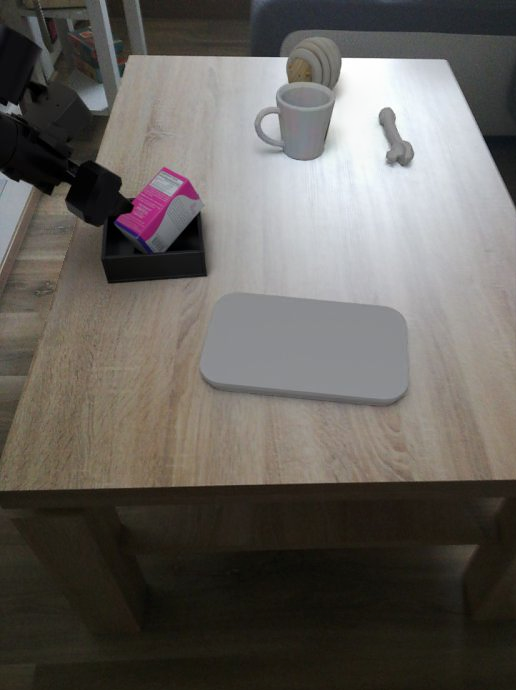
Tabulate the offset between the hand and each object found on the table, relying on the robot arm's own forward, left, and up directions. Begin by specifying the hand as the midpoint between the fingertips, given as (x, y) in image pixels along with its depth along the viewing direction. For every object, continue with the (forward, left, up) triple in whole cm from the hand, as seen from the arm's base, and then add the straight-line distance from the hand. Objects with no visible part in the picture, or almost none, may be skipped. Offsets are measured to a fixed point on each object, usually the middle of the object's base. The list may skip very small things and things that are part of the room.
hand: (109, 194), depth 73 cm
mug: (+29, +30, -12) cm, 44 cm away
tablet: (+23, -20, -12) cm, 33 cm away
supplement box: (+1, +2, -9) cm, 9 cm away
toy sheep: (+37, +51, -12) cm, 64 cm away
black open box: (+4, +4, -12) cm, 14 cm away
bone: (+49, +31, -12) cm, 60 cm away
